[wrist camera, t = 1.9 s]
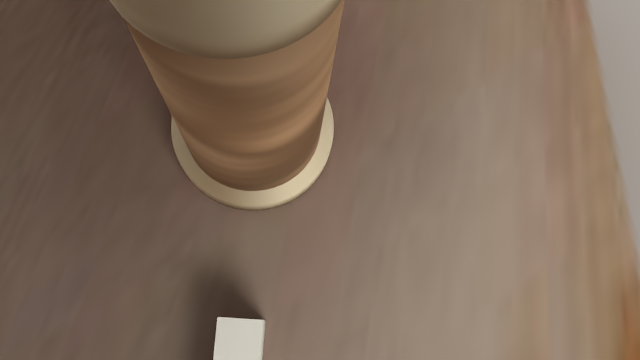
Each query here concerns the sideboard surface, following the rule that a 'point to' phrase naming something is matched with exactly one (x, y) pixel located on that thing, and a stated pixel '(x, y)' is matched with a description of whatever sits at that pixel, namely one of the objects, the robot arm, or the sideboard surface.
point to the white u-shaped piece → (239, 339)
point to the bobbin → (243, 90)
